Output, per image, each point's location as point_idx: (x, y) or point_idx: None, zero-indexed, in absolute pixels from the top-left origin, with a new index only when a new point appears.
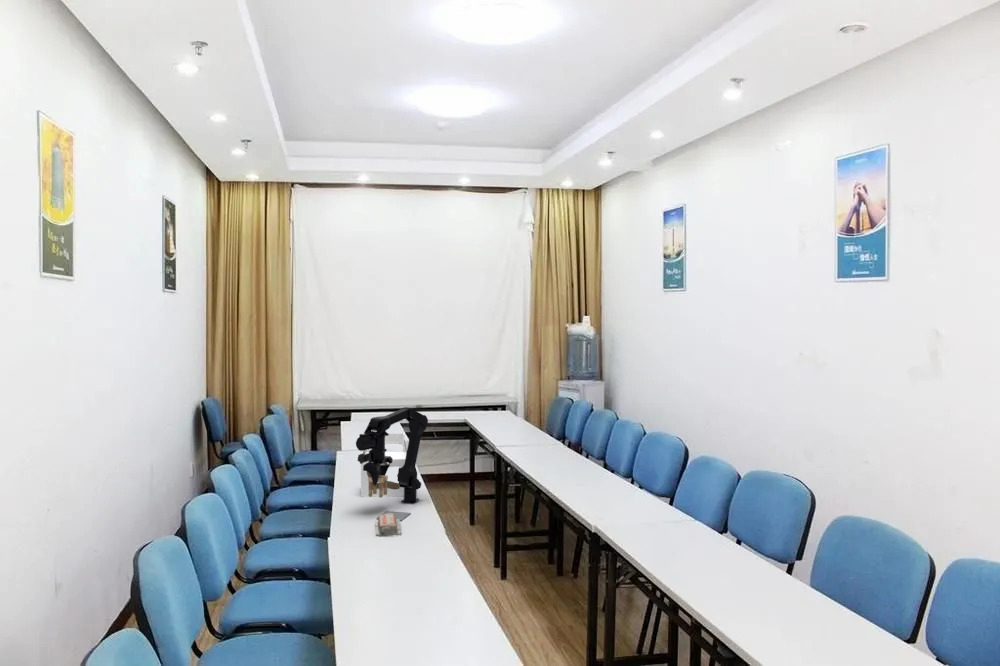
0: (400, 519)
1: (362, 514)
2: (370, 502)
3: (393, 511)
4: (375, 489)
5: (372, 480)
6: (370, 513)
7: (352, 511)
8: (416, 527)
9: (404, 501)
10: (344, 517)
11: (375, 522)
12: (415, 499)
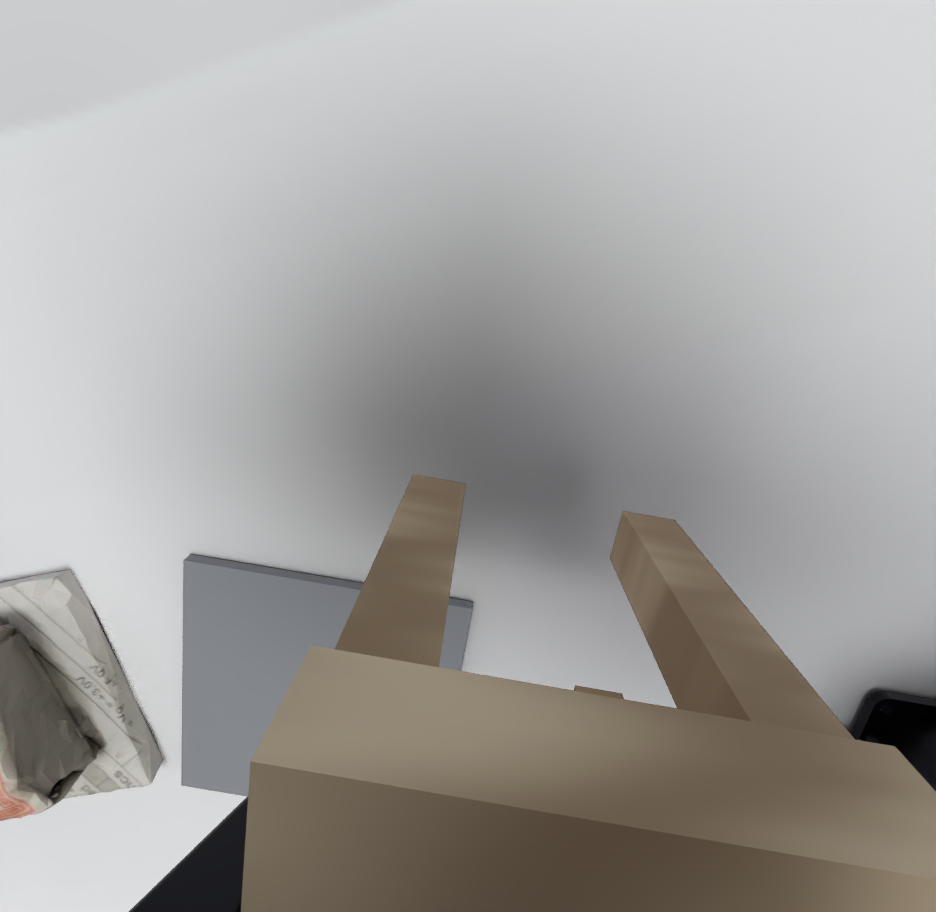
0: (197, 774)
1: (347, 358)
2: (930, 328)
3: None
4: (632, 602)
5: (170, 876)
6: (402, 444)
7: (466, 184)
8: (59, 888)
9: (864, 733)
10: (176, 151)
11: (5, 588)
12: None
